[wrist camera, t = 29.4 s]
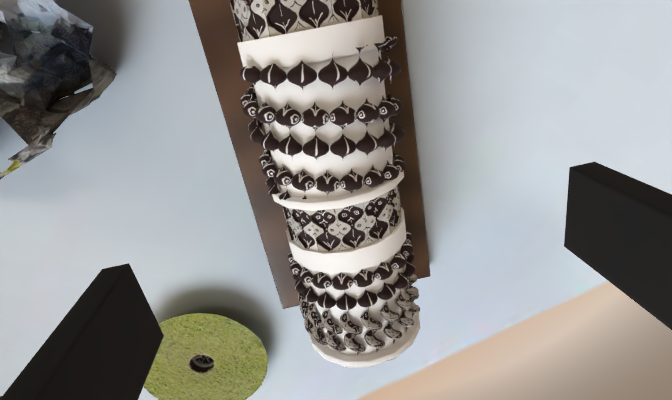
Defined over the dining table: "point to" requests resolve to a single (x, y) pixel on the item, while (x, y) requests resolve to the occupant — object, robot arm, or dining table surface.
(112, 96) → the dining table surface
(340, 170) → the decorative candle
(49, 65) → the foil
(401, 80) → the walnut board
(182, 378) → the mat
